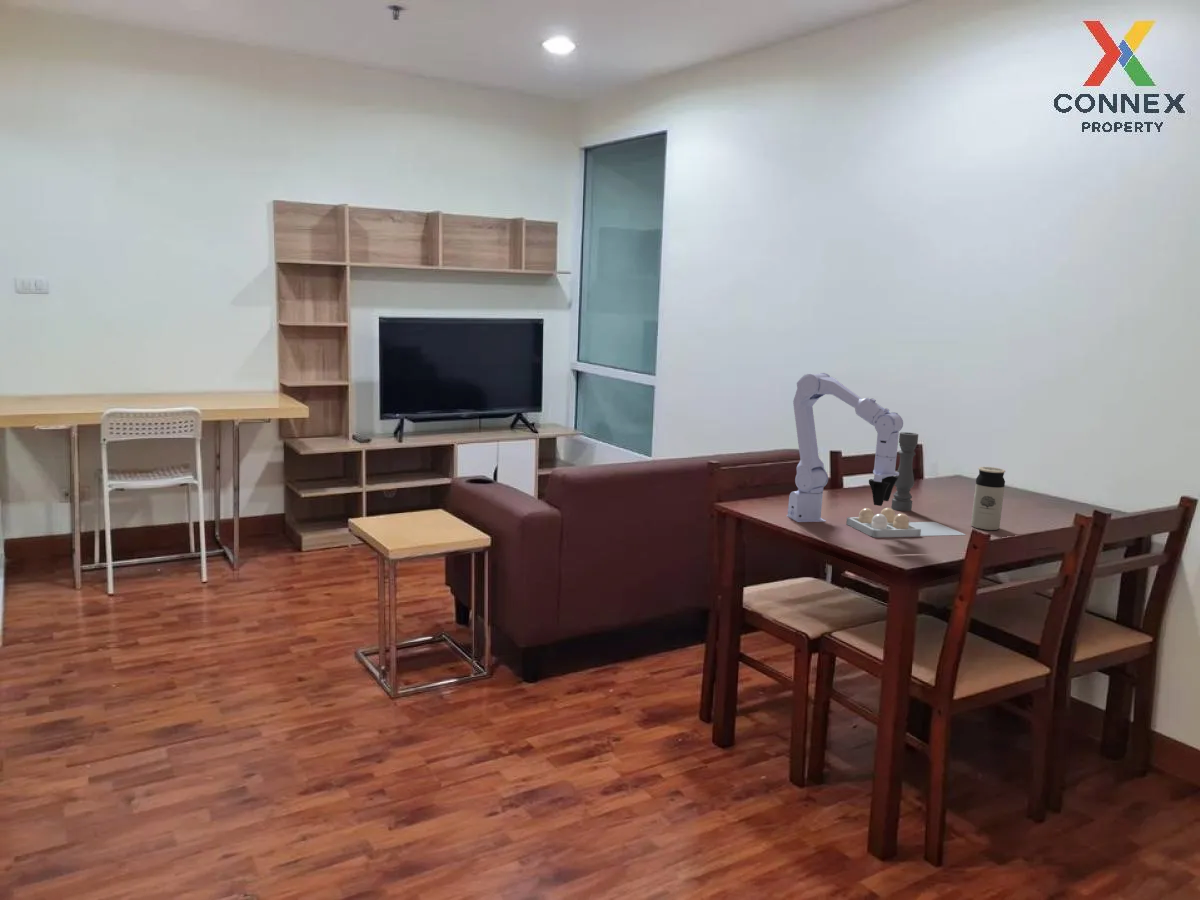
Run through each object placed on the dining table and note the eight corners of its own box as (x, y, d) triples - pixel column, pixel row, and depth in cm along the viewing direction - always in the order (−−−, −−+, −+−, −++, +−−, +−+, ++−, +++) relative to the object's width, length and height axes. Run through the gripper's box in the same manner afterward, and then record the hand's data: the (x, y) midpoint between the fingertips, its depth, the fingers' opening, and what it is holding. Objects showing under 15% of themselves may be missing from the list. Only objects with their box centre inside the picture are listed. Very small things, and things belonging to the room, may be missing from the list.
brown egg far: (884, 528, 264) (886, 509, 263) (876, 524, 268) (878, 506, 267) (897, 528, 265) (898, 509, 264) (889, 524, 269) (891, 506, 268)
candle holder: (907, 508, 295) (914, 432, 290) (914, 512, 289) (922, 435, 284) (888, 507, 294) (895, 431, 290) (895, 512, 288) (902, 434, 284)
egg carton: (873, 539, 253) (873, 530, 253) (846, 525, 267) (846, 517, 267) (966, 536, 261) (966, 528, 260) (934, 523, 275) (935, 515, 274)
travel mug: (975, 522, 278) (982, 465, 275) (1002, 527, 274) (1009, 469, 271) (967, 527, 272) (974, 468, 269) (994, 532, 267) (1001, 472, 264)
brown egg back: (897, 534, 257) (899, 515, 256) (889, 531, 261) (891, 511, 260) (910, 534, 258) (912, 515, 257) (902, 530, 262) (904, 511, 261)
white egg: (875, 535, 255) (877, 515, 254) (867, 531, 259) (869, 512, 258) (888, 535, 256) (890, 515, 255) (880, 531, 260) (882, 512, 259)
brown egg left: (862, 529, 262) (864, 509, 261) (855, 525, 266) (857, 506, 265) (875, 528, 263) (877, 509, 262) (868, 525, 267) (869, 506, 266)
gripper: (894, 461, 246) (889, 509, 248) (906, 454, 258) (901, 500, 261) (868, 457, 249) (863, 505, 252) (881, 451, 262) (876, 497, 264)
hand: (881, 503), depth 256 cm, fingers open, 7 cm apart
